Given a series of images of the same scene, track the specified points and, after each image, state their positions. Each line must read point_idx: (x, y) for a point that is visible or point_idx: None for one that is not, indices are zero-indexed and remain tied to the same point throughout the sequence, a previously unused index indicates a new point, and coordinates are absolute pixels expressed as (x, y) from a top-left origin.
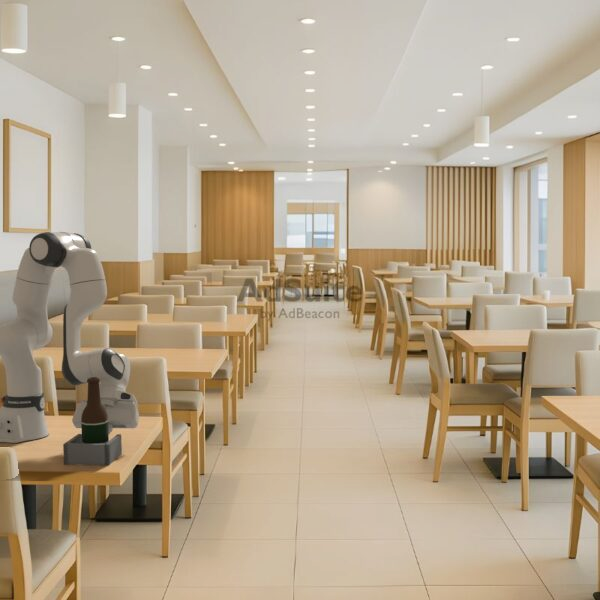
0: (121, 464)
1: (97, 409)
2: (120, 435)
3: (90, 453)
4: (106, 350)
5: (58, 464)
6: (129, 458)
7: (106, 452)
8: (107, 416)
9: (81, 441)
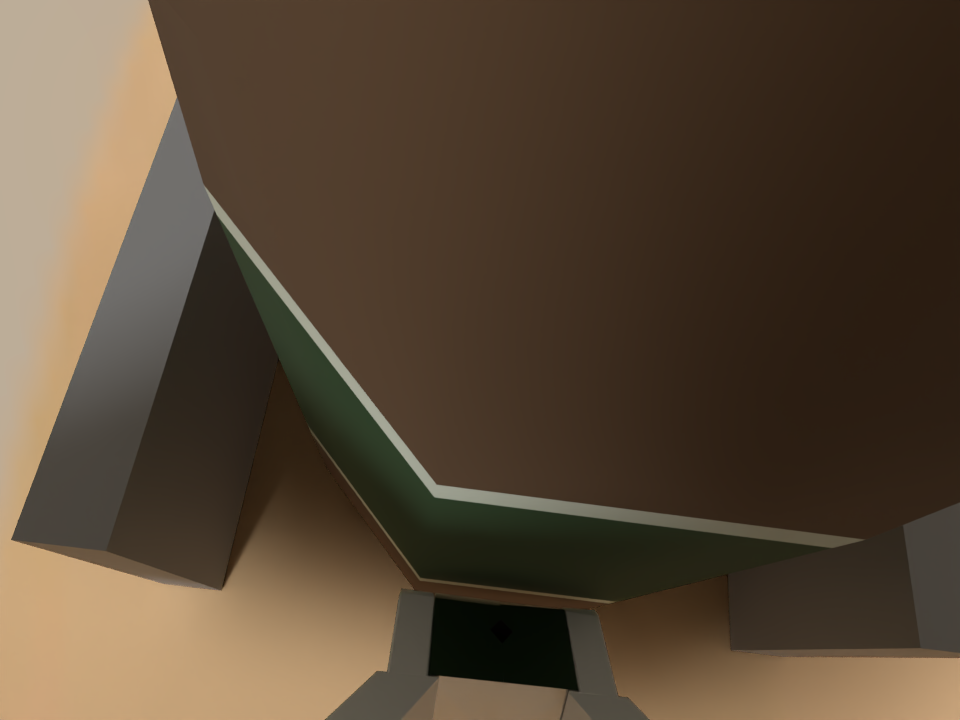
0: (157, 143)
1: None
2: (39, 483)
3: None
4: None
5: None
6: (58, 348)
7: None
8: (178, 56)
9: (828, 601)
